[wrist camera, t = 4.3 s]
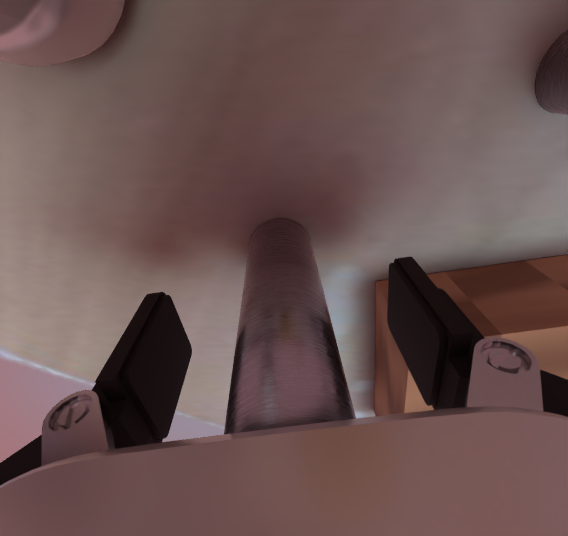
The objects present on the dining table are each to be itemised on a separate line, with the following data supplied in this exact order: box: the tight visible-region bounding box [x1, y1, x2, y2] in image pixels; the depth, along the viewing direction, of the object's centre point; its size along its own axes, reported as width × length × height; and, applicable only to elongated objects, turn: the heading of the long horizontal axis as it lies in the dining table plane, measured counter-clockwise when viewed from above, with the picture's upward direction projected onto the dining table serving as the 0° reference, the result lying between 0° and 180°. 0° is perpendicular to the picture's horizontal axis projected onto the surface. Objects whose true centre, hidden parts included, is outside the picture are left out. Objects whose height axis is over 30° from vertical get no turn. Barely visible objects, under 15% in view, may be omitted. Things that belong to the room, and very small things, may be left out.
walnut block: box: [374, 255, 568, 416], centre depth 18 cm, size 12×12×5 cm
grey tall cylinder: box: [224, 218, 356, 434], centre depth 11 cm, size 3×3×12 cm
